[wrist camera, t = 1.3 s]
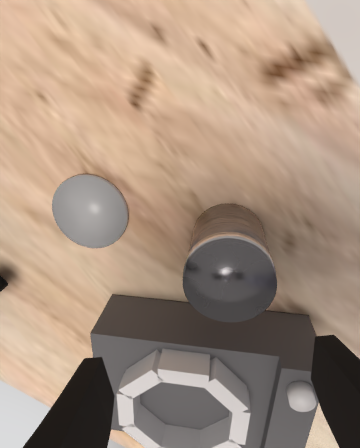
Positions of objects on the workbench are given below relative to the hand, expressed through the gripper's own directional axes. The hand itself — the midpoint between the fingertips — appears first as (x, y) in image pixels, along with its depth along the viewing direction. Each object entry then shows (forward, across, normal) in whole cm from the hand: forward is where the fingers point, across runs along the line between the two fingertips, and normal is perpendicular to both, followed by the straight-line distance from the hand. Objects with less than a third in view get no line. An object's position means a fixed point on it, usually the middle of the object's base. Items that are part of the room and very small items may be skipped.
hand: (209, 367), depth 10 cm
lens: (+10, -2, 0) cm, 10 cm away
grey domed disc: (+12, +6, -2) cm, 13 cm away
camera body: (+10, +1, +10) cm, 14 cm away
